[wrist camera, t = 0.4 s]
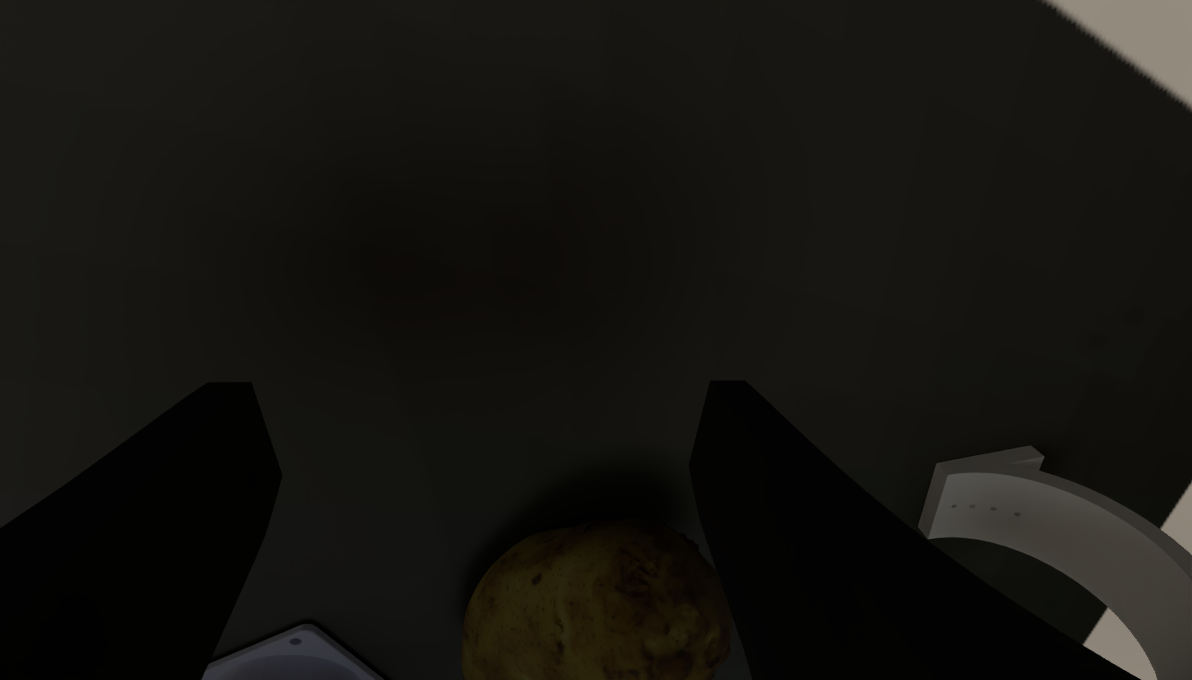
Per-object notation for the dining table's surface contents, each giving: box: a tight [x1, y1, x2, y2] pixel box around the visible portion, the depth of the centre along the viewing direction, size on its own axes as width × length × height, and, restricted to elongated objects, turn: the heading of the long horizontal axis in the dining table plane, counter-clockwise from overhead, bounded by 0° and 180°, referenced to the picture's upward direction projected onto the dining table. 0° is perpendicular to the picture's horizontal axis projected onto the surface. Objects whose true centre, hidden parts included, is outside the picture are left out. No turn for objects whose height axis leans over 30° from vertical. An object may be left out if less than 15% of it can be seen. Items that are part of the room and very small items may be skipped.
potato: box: [461, 517, 733, 680], centre depth 23 cm, size 8×13×8 cm, turn 117°
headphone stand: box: [918, 445, 1192, 680], centre depth 24 cm, size 5×6×12 cm
